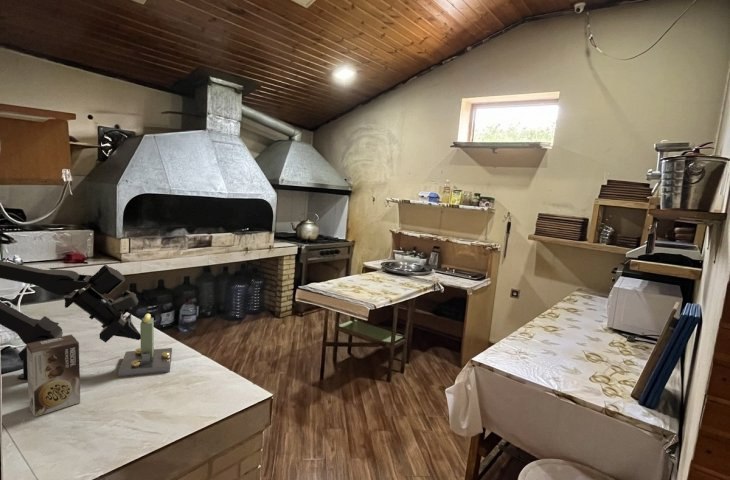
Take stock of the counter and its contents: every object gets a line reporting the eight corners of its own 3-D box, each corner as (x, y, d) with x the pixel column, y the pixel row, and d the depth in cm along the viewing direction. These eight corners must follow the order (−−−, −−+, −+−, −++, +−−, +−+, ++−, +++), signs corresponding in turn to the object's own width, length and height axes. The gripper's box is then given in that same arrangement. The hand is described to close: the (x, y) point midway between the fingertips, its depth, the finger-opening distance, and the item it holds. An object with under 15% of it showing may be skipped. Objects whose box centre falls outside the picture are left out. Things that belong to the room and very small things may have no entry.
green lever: (140, 361, 115) (140, 319, 113) (142, 354, 120) (142, 313, 118) (152, 360, 116) (151, 318, 114) (153, 352, 121) (153, 312, 119)
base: (118, 377, 110) (118, 359, 109) (126, 357, 121) (126, 341, 121) (169, 372, 115) (170, 355, 114) (172, 353, 127) (172, 338, 126)
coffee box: (73, 393, 100) (72, 333, 98) (81, 403, 96) (80, 341, 94) (27, 406, 93) (25, 342, 91) (33, 417, 89) (32, 351, 87)
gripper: (113, 294, 104) (159, 330, 110) (124, 277, 120) (164, 309, 126) (78, 324, 101) (127, 359, 107) (94, 303, 118) (136, 334, 124)
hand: (140, 338), depth 116 cm, fingers closed
